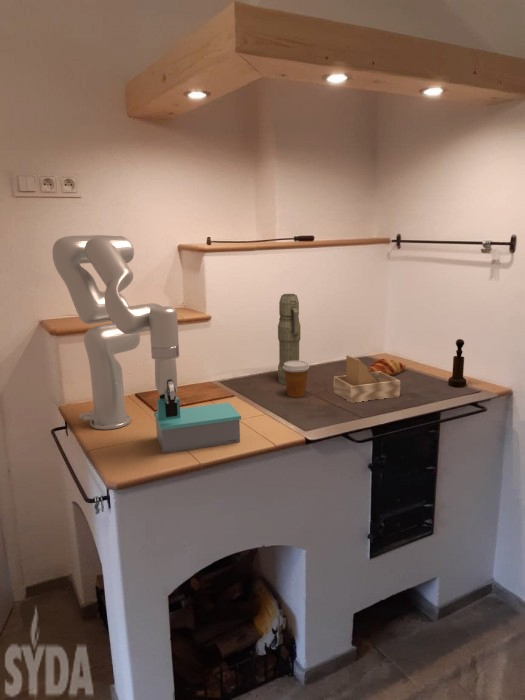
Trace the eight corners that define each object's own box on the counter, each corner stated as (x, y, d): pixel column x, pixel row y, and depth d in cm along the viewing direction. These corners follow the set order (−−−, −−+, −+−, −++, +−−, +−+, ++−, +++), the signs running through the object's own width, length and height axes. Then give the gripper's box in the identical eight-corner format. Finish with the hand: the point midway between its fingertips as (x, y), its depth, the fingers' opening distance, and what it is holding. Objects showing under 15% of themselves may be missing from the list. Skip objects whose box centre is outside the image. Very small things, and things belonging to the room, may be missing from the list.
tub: (163, 453, 145) (162, 429, 144) (157, 437, 156) (155, 415, 155) (240, 441, 152) (239, 419, 151) (228, 427, 163) (227, 406, 162)
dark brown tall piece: (451, 381, 207) (454, 336, 203) (468, 384, 204) (471, 338, 200) (445, 385, 202) (448, 339, 198) (463, 388, 198) (466, 341, 194)
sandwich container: (394, 395, 193) (395, 355, 189) (358, 401, 187) (359, 360, 183) (380, 388, 200) (381, 350, 197) (345, 394, 194) (346, 354, 191)
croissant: (400, 376, 228) (395, 358, 230) (415, 370, 219) (410, 352, 221) (361, 382, 219) (356, 364, 220) (375, 377, 210) (370, 357, 212)
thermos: (289, 387, 203) (288, 296, 195) (271, 380, 212) (270, 293, 205) (307, 383, 207) (307, 295, 199) (289, 377, 217) (289, 292, 209)
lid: (161, 433, 143) (159, 407, 142) (154, 418, 155) (152, 394, 154) (241, 422, 151) (240, 397, 149) (228, 408, 163) (228, 385, 161)
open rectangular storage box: (351, 403, 184) (351, 386, 183) (333, 392, 197) (333, 376, 195) (399, 396, 190) (400, 380, 189) (379, 386, 203) (379, 371, 201)
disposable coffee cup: (279, 397, 191) (279, 365, 189) (287, 390, 200) (287, 359, 197) (305, 400, 188) (305, 367, 185) (311, 392, 197) (312, 361, 194)
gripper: (147, 346, 152) (151, 403, 156) (156, 360, 136) (160, 422, 140) (173, 344, 155) (176, 400, 159) (184, 357, 139) (188, 419, 143)
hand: (168, 410), depth 150 cm, fingers open, 9 cm apart
